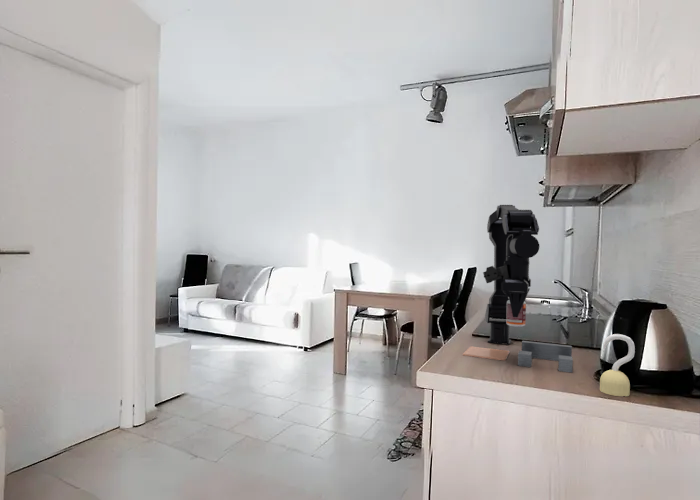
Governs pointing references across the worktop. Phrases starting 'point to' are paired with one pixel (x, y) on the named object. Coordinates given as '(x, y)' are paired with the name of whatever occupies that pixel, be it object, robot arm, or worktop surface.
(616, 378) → the hook
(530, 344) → the vise
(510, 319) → the pill bottle
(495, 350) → the tile
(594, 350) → the worktop surface
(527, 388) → the worktop surface
